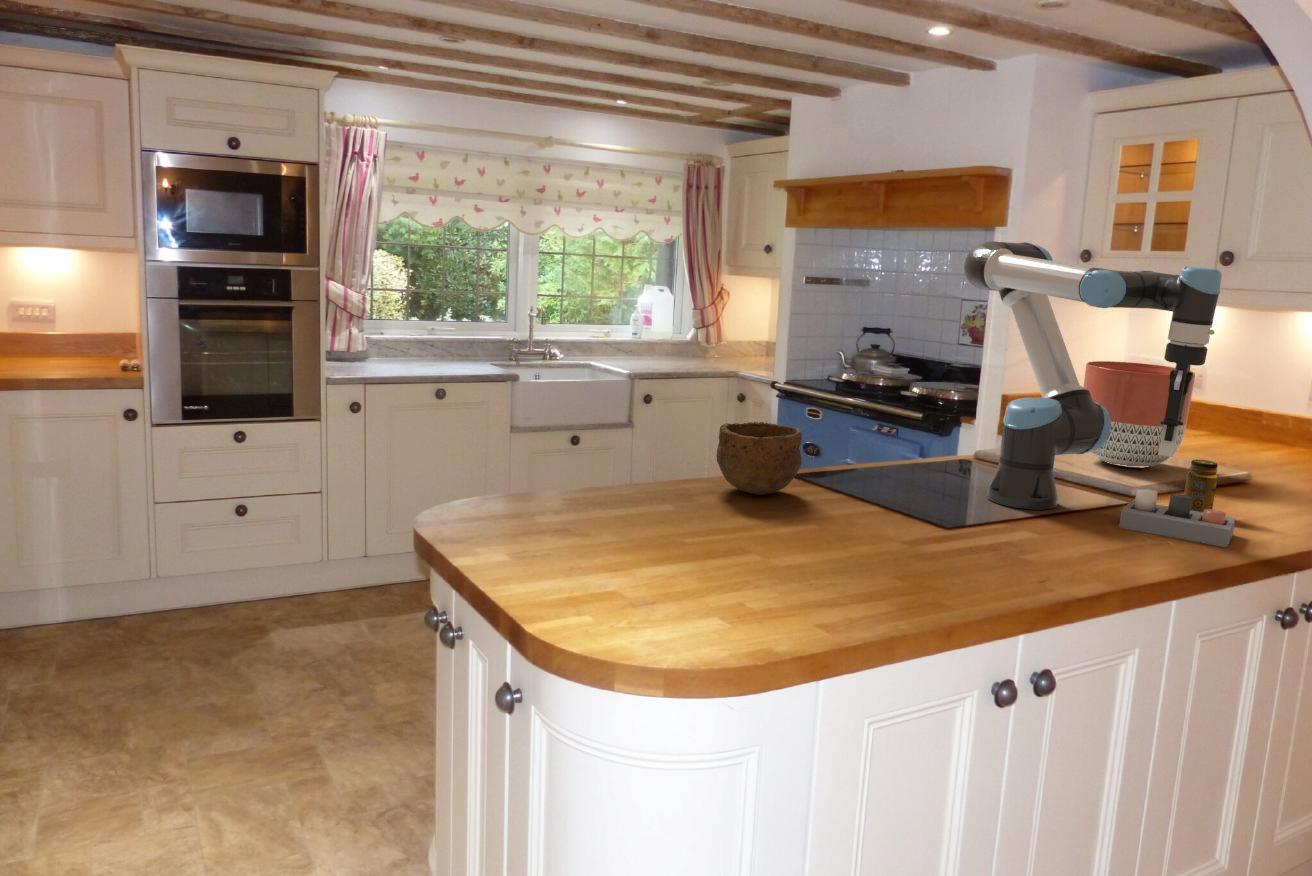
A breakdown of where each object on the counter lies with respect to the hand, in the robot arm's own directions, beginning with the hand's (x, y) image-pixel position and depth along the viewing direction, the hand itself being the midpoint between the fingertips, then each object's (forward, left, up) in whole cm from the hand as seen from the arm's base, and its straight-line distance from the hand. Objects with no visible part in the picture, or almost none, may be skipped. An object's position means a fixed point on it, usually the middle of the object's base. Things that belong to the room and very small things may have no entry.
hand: (1165, 455), depth 211 cm
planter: (-17, +64, -16) cm, 68 cm away
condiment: (+5, +19, -16) cm, 26 cm away
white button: (-2, -1, -12) cm, 12 cm away
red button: (+11, -1, -14) cm, 18 cm away
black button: (+4, -1, -12) cm, 13 cm away
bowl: (-76, -38, -16) cm, 86 cm away
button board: (+4, -1, -16) cm, 16 cm away
